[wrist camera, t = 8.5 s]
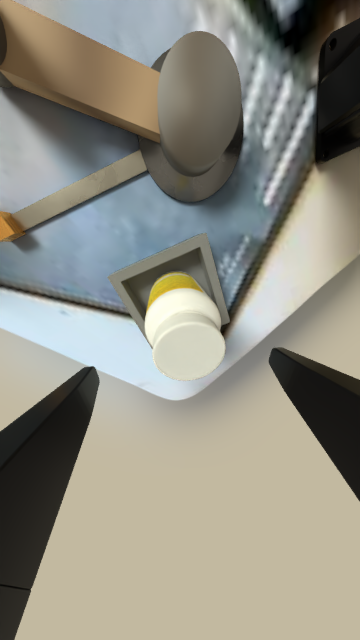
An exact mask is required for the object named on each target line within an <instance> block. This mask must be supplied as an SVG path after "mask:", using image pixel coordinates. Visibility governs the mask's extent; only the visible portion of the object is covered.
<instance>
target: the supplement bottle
mask: <svg viewBox="0 0 360 640" xmlns="http://www.w3.org/2000/svg"><path fill="white" fill-rule="evenodd" d="M220 328H221V317H220V313H219V310H218V308H217V306H216V305H215V303H214V302H213V301H212V299H211V298H210V297H209V296H208V295H207V294H206V292H205V291H204V290H203V289H202V287H201V286H200V285H199V284H198V282H197V281H196V280H195V279H194V278H193V277H192V276H191V275H189V274H187V273H185V272H182V271H170V272H167V273H165V274H163V275H161V276H160V277H159V278H158V279H157V280H156V281H155V283H154V284H153V286H152V288H151V291H150V296H149V301H148V306H147V311H146V316H145V333H146V337H147V339H148V341H149V343H150V344H151V346H152V347H153V353H152V354H153V361H154V363H155V365H156V367H157V368H158V370H159V371H160V372H161V373H162V374H164V375H165V376H167V377H169V378H172V379H176V380H182V381H188V380H195V379H199V378H202V377H204V376H206V375H208V374H210V373H211V372H213V371H214V370H215V369H216V368H217V367H218V366H219V365H220V363H221V362H222V360H223V358H224V355H225V351H226V345H225V341H224V338H223V336H222V334H221V332H220Z"/></svg>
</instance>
